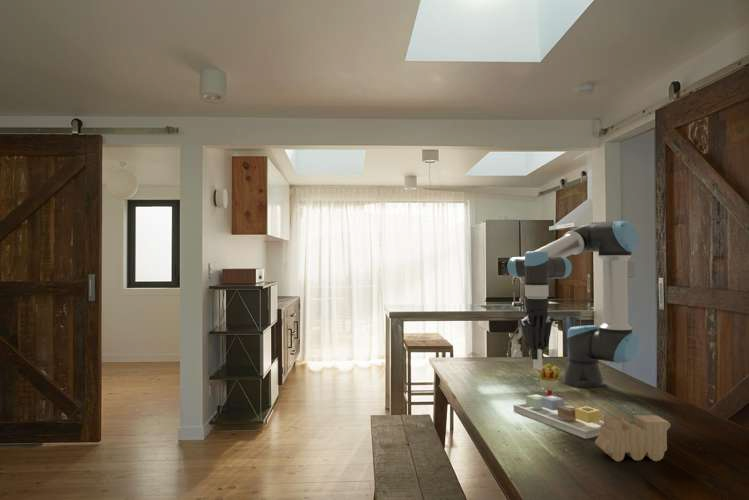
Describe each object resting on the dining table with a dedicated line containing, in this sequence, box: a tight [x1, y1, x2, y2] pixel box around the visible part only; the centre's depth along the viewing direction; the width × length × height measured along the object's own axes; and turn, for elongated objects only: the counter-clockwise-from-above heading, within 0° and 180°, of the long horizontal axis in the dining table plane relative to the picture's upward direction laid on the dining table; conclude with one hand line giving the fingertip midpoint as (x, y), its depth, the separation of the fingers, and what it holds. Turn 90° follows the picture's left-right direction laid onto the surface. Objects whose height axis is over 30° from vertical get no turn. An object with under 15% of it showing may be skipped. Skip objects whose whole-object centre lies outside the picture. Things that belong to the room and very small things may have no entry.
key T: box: [558, 404, 579, 421], centre depth 161 cm, size 5×5×3 cm
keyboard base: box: [513, 402, 604, 440], centre depth 164 cm, size 12×30×2 cm, turn 26°
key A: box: [575, 405, 601, 423], centre depth 155 cm, size 5×5×3 cm
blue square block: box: [541, 394, 565, 410], centre depth 168 cm, size 5×5×3 cm
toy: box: [538, 363, 561, 396], centre depth 186 cm, size 7×7×15 cm
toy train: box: [594, 414, 672, 462], centre depth 135 cm, size 6×17×10 cm, turn 91°
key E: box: [525, 393, 545, 409], centre depth 174 cm, size 5×5×3 cm
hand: (537, 368), depth 173 cm, fingers closed
